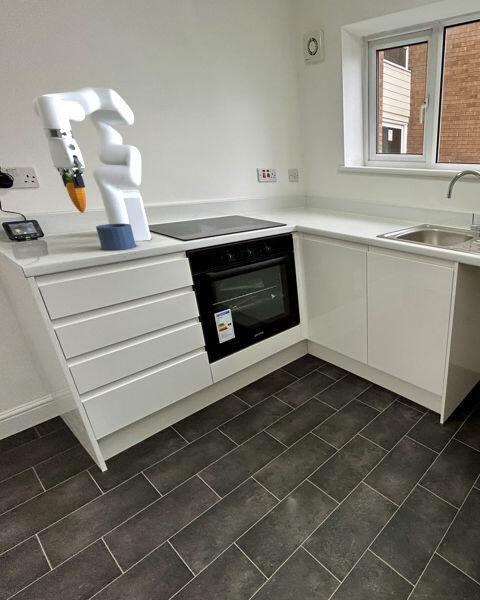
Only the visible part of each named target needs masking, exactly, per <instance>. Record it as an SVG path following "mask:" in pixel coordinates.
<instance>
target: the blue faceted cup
mask: <svg viewBox="0 0 480 600" xmlns="http://www.w3.org/2000/svg"><path fill="white" fill-rule="evenodd" d="M95 229H96V232H97V236H98V240H99V243H100V246H101V250H102V251H110V252H111V251H112V252H113V251H123V250H125V251H126V250H131V249H134V248H135V247H137V246H136V241H135V240H134V236H133V232H132V228H131V225H130V224H109V223H106V224H99V225H97V226H95Z"/></svg>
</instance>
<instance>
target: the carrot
mask: <svg viewBox="0 0 480 600" xmlns="http://www.w3.org/2000/svg"><path fill="white" fill-rule="evenodd" d="M65 175H66V176H67V177H68V178H69V179H68V178H66V179H67V180H68V181H70V182H71V183H67V184H66V187H65V188H66V191H67V194H68V196H69V198H70V200H71V203H72V204H73V205H74V207H75V208H76V209H77V210H78V211H79V212H80V213H81V214H83V213H85V211H86V208H87V197H86V192H85V188H75V186H74V183H73V180H72V177H73V175H72V173H70V175H69V174H68V173H65Z"/></svg>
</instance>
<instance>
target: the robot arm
mask: <svg viewBox="0 0 480 600" xmlns="http://www.w3.org/2000/svg"><path fill="white" fill-rule="evenodd" d="M34 97H35V98H33V99H32V102H31V106H32V110H33V112H34V114H35V115H36V116H37V117H38V118H39V119H40V122H41V124H42V128H43V131H44V134H45V138H46V139H47V141H48V142H47V143H48V149H49V152H50V157H51V160H52V162H53V167H54V168H55V169H56V170H57V171H58V173H59V175H60V176H61V179H62V180H61V181H62V183H63V186H64V188H66V184H67V183H71V182H70V181H68V180H67V179H66V178H68V177H67V176H66V175H65V173H68V174H69V175H70V174H72V175H73V177H72V180H73V183H74V186H75V188H84V189H85V188H86V184H85V182H84V178H83V177H84V175H83V173H84V170H85V167H86V165H85V162H84V158H83V156H82V152H81V150H80V147H79V145H78V143H77V141H76V139H75V137H74V134H73V130H72V127H71V126H72V125H71V123H80V122H82V121H84V120H85V118H86V116H88V117H89V119H90V121H91V123H92V125H93V127H94V128H95V130H96V132H97V134H98V151H97V153H98V158H99V161H100V162H101V163H102V164H98V165H96V166H94V167H93V169H92V176H93V179H94V181H95V183H96V185H97V187H98V189H99V192H100V195H101V199H102V202H103V203H102V204H103V206H104V211H105V213H106V217H107V221H108V224H130V223H129V219H128V215H127V211H126V207H125V203H124V199H123V189H122V188H136V187H137V188H138V187H139V186H140V185H141V184H142V155H141V153H140V151H139V149H138V148H137V147H136V146H134V145H131V144H123V137H122V136H121V134H120V133H119V132H118V131H117V130H115V128H113V127H112V126H113V125H114V126H132V125H133V124H134V122H135V115H134V113H133V111H132V109H131V107H130V106H129V104H127V103H126V101H125V100H124V99H123V98H122V97H121V95H120V94H118V93H117V91H115V90H114V89H111V88H109V87H108V88H107V87H97V86H95V87H93V86H83V87H79V88H77V89H75V90H72V91H62V92H56V93H55V92H54V93H46V94H40V95H36V96H34ZM70 176H71V175H70ZM68 179H69V178H68Z"/></svg>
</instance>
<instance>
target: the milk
mask: <svg viewBox="0 0 480 600" xmlns="http://www.w3.org/2000/svg"><path fill="white" fill-rule="evenodd" d="M122 191H123V199H124V203H125V207H126V211H127V215H128V219H129V223H130V225H131V228H132V232H133V236H134V240H135V242H141V241H142V242H144V241H151V239H152V236H151V232H150V228H149V223H148V219H147V214H146V211H145V206H144V203H143V202H144V201H143V199H142V195H141V192H140V190H139V189H122Z"/></svg>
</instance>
